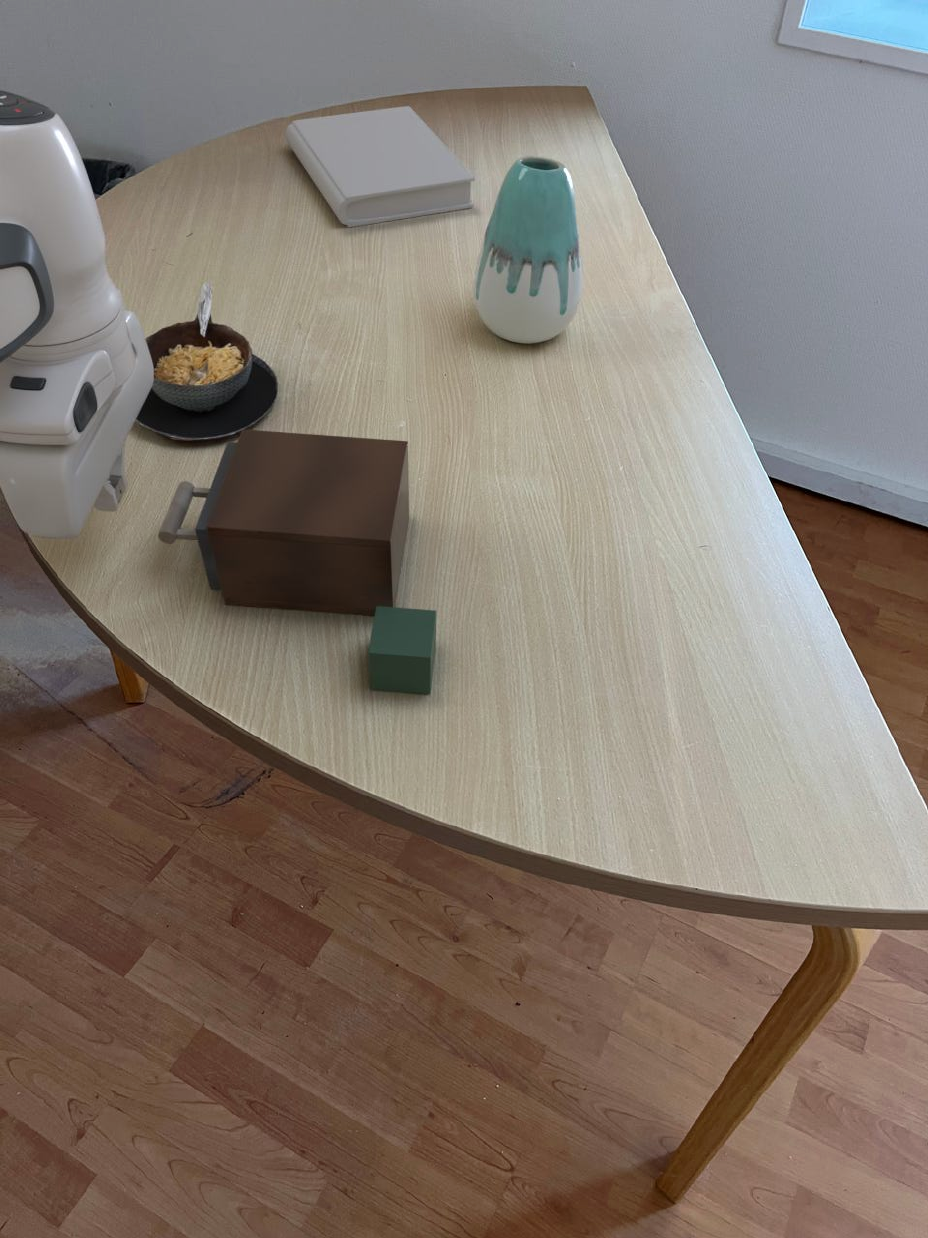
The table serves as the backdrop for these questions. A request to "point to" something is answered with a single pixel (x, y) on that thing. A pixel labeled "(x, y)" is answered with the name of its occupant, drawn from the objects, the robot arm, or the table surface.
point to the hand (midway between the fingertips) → (112, 499)
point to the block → (402, 650)
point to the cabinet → (312, 522)
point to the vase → (530, 255)
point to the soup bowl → (205, 380)
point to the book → (380, 166)
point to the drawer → (180, 507)
